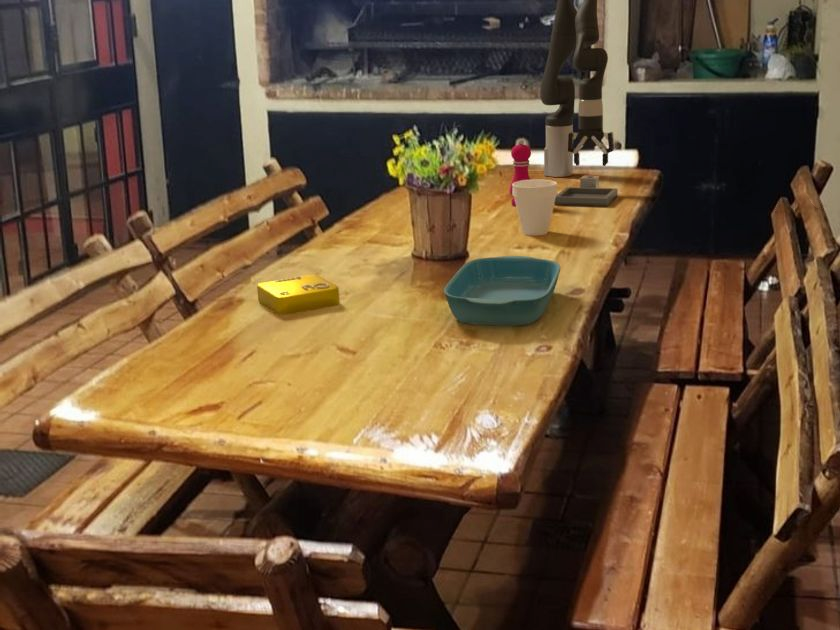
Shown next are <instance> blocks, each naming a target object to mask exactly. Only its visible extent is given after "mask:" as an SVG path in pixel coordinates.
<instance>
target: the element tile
mask: <svg viewBox="0 0 840 630" xmlns="http://www.w3.org/2000/svg"><path fill="white" fill-rule="evenodd" d="M256 290H257V300H258V301H259V302H260V304H261V303H262V304H263V305H262V304H261V305H262V306H264V305H265V306H264V307H266V308H267V307H268V308H267V309H269V310H270V309H271V310H270V311H272V312H273V311H274V312H273V313H275V314H276V313H277V315H280V314H281V315H285V316H286V315H290V314H291V315H292V314H296V313H297V312H298V313H303V312H308V310H309V311H314V310H319V309H325V308H329V307H335V305H336V306H338V304H339V305H340V289H339V286H338V285H336V284H334V283H333V282H331V281H328V280H327V279H326V278H324V277H321V276H320V275H317V274H315V273H313V274H306V275H299V276H294V277H288V278H283V279H277V280H271V281H265V282H260V283H259V282H258V284H257V285H256ZM259 302H258V303H259ZM281 315H280V316H281Z"/></svg>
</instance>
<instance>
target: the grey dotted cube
mask: <svg viewBox="0 0 840 630" xmlns="http://www.w3.org/2000/svg"><path fill="white" fill-rule="evenodd" d="M579 185H580V188H600V175H587V174H586V175H582V176H581V177H580V178H579Z"/></svg>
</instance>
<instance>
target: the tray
mask: <svg viewBox="0 0 840 630" xmlns="http://www.w3.org/2000/svg"><path fill="white" fill-rule="evenodd" d="M618 190H619V189H618V188H609V187H607V188H604V187H599V188H580V187H579V186H577V187H575V186H572V187H571V186H567V187H565V188H564V189H562V190H561V191H560V192H559V193H557V195H556V198H555V202H554V206H566V207H567V206H568V207H569V206H573V207H600V208H601V207H602V208H606V207H608V206H609V205H610V204H611V203H612V202H613V201H614V200H615V199H617V198H618V194H619V193H618Z"/></svg>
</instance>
